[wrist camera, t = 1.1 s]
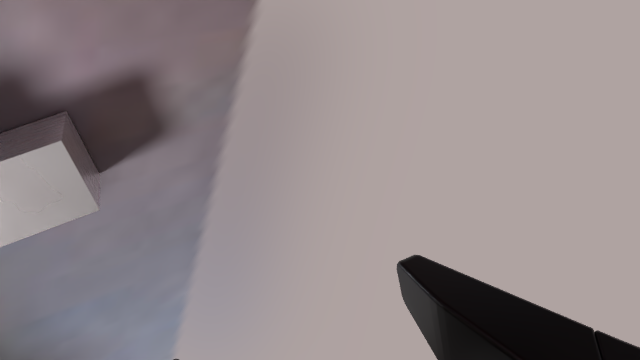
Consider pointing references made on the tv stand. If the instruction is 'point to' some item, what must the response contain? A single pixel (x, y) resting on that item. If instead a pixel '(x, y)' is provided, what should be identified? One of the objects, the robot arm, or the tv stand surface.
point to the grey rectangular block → (44, 178)
